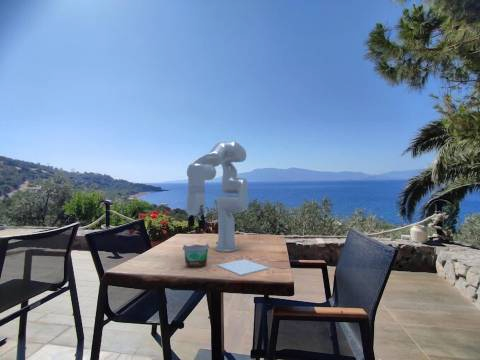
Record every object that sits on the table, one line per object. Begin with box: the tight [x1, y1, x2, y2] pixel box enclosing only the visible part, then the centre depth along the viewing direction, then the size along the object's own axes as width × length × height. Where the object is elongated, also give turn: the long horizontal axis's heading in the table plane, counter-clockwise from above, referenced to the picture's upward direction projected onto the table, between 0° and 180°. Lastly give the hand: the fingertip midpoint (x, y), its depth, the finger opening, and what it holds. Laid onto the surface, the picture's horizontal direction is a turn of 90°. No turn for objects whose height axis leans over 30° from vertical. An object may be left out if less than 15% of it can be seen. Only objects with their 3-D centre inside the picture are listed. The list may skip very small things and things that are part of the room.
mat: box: [216, 259, 270, 277], centre depth 127 cm, size 18×16×1 cm
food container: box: [182, 243, 210, 269], centre depth 129 cm, size 12×6×10 cm, turn 101°
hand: (196, 227), depth 129 cm, fingers open, 9 cm apart
